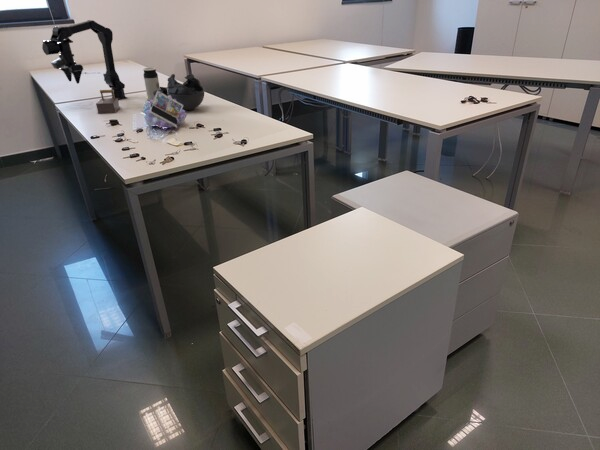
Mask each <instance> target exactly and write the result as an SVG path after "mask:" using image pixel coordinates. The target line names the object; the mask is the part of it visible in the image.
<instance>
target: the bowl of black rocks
mask: <svg viewBox="0 0 600 450" xmlns="http://www.w3.org/2000/svg"><path fill="white" fill-rule="evenodd" d="M175 77H176V75H175V74H174V73H171V75H170V76H169V77H168V78H167V79H166V80H167V86H166V88H167V91H168V92H167V95H168V96H170V95H171V97H172V99H176V101H177V102H179V103H181V104H182V105H184V106H183V108H182V110H185V111H192V110H195V109H197V108H198V107H199V106H200V105H201V104H202V103H203V100H204V99H205V90H204V88H203V85H201V82H200V79H198V78H196V77H195V75H194V74H193V73H189V74H188V75H186V76H185V77H184V79H186V80H185V81H184V82H183V83H181V82H178V80H177V79H175Z"/></svg>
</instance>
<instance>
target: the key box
mask: <svg viewBox="0 0 600 450" xmlns="http://www.w3.org/2000/svg"><path fill="white" fill-rule="evenodd" d="M95 105H96V104H95ZM119 109H120V103H119V100H118V99H117V101H116V102H115V103H114V104H106V105H96V110H97V114H100V115H102V114H117V112H118V111H119Z"/></svg>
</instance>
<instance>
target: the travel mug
mask: <svg viewBox="0 0 600 450" xmlns="http://www.w3.org/2000/svg"><path fill="white" fill-rule="evenodd" d="M142 70H143V80H144V85H145V86H144V87H145V91H146V96H147V101H150V100H153V99H154V94H153V92H154V91H156V90H160V87H161V86H160V81H159V75H158V72H157V68H156V67H144V68H142Z"/></svg>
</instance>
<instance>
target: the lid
mask: <svg viewBox="0 0 600 450" xmlns="http://www.w3.org/2000/svg"><path fill="white" fill-rule="evenodd" d="M99 93H100V96H101V98H100V99H99V100H98V101H97V102H96V103H95V105H106V104H114V103H115V102H116V101H117V99H118V98H115V96H114V90H111V89H100V90H99ZM104 94H111V95H112V94H113V98H112V97H109V98H108V97H107V98H106V97H105V98H104Z"/></svg>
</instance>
